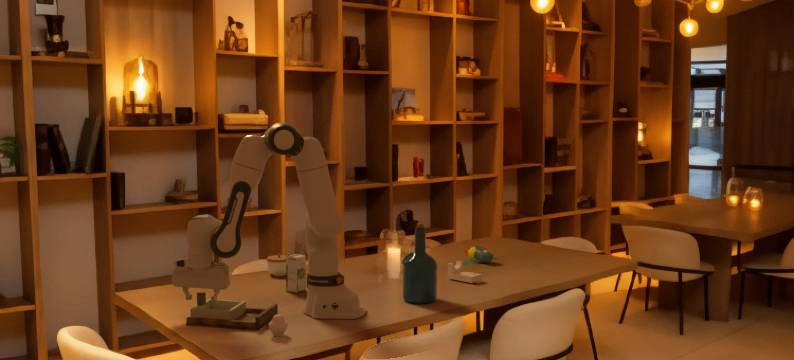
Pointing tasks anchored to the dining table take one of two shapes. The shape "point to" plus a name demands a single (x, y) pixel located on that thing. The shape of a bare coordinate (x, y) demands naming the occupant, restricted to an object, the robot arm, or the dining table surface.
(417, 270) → the wine bottle
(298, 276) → the syrup box
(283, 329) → the muffin
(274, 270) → the lidded jar
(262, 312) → the bay
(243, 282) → the dining table surface
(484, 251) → the green parrot figure
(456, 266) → the bracket
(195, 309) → the drawer
